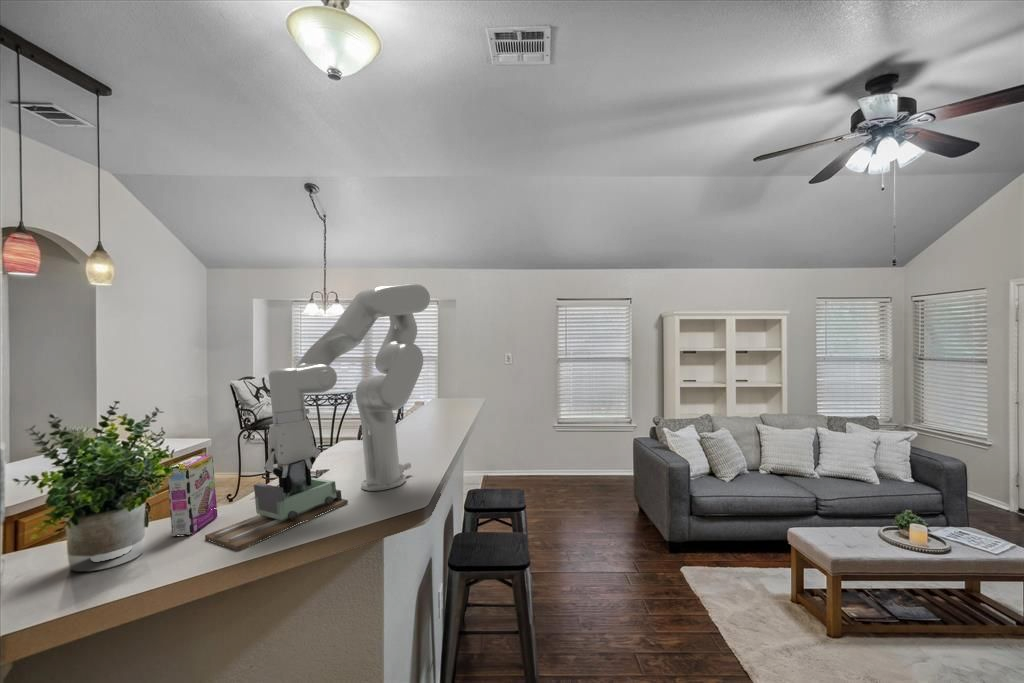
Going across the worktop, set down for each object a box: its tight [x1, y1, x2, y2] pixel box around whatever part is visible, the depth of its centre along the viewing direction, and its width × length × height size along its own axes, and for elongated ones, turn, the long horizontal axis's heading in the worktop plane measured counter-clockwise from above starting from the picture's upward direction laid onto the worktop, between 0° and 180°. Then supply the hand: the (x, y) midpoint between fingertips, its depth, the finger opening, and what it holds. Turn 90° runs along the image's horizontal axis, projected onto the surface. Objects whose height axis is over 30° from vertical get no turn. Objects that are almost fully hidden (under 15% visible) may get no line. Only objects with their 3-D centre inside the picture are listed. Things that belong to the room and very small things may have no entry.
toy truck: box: [253, 477, 337, 520], centre depth 118 cm, size 15×12×8 cm
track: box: [204, 489, 349, 552], centre depth 114 cm, size 28×14×3 cm, turn 147°
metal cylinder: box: [286, 460, 307, 497], centre depth 118 cm, size 5×5×8 cm
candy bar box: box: [167, 454, 218, 537], centre depth 115 cm, size 11×5×16 cm, turn 5°
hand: (296, 487), depth 118 cm, fingers closed on metal cylinder, 4 cm apart
